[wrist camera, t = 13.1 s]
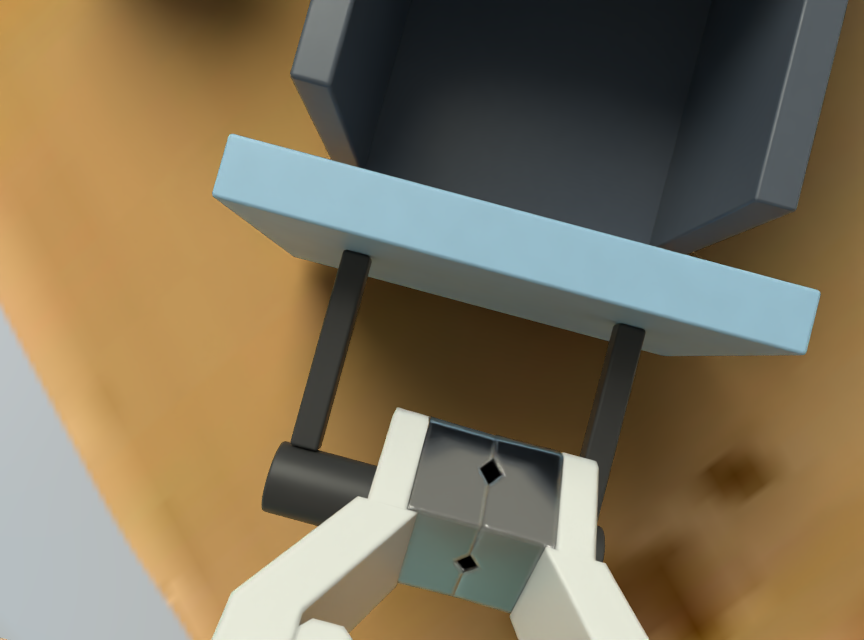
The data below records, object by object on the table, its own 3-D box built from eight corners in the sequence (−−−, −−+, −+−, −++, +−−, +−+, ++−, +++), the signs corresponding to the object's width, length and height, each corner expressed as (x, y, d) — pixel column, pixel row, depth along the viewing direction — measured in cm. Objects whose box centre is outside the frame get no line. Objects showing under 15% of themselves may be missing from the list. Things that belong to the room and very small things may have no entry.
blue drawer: (614, 557, 22) (728, 678, 14) (236, 454, 22) (119, 513, 14) (776, -79, 23) (975, -330, 14) (411, -175, 23) (402, -478, 15)
